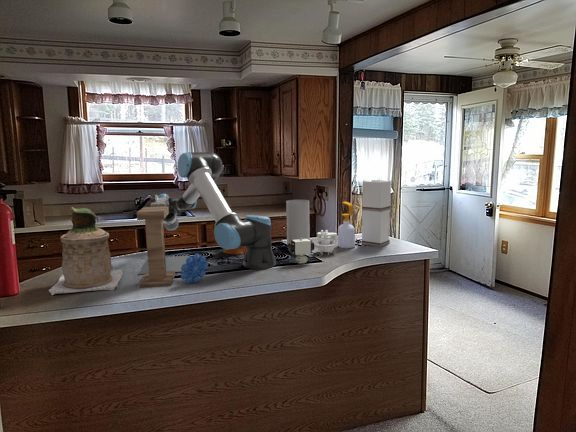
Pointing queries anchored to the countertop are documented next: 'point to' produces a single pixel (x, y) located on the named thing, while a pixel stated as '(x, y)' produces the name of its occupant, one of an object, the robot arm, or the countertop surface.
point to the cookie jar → (86, 257)
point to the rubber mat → (168, 264)
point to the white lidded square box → (376, 212)
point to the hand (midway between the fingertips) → (161, 197)
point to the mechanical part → (326, 241)
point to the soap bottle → (346, 230)
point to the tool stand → (155, 247)
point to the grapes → (194, 268)
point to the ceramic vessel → (235, 250)
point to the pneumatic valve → (301, 249)
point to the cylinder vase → (297, 220)
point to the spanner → (159, 202)
